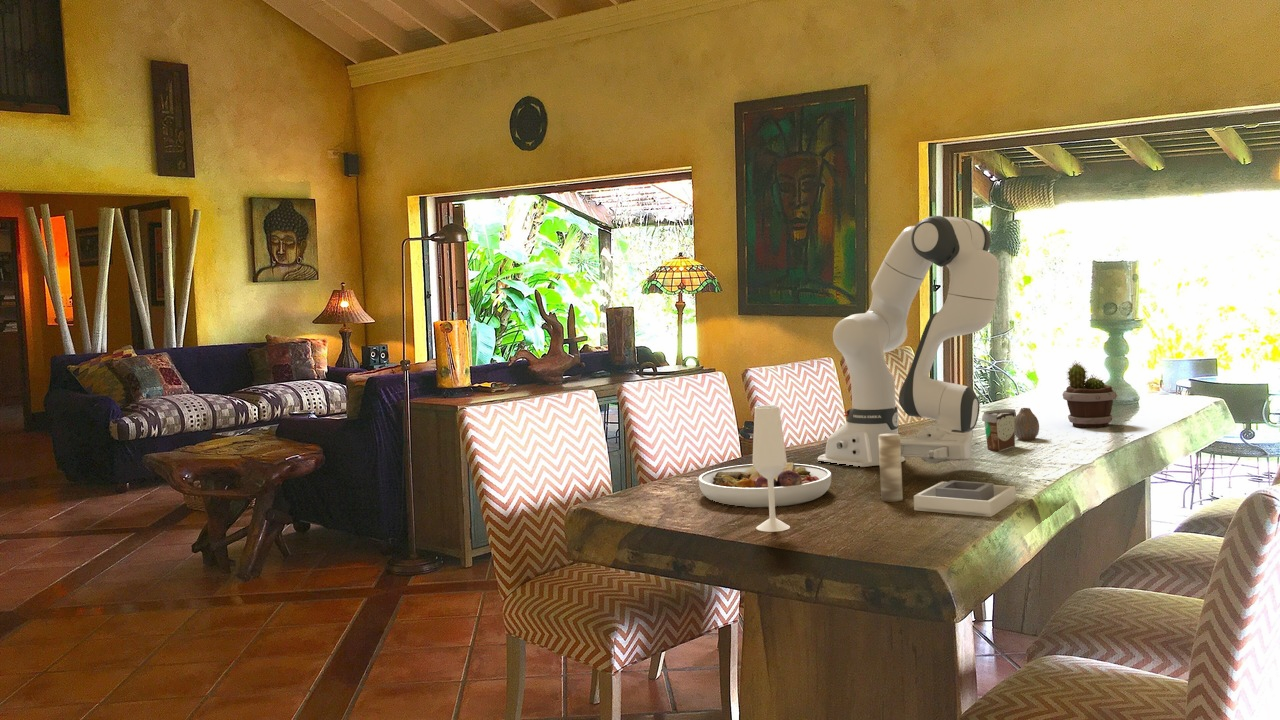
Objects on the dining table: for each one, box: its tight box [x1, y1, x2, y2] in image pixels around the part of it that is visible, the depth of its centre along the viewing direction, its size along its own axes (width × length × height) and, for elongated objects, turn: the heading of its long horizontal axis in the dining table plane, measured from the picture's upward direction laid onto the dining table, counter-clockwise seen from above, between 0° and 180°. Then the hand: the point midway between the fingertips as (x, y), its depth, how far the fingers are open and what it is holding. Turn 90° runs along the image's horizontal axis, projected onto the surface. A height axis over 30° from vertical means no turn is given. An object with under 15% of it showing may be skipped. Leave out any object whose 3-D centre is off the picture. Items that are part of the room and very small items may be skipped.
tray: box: [913, 479, 1017, 518], centre depth 205 cm, size 16×16×4 cm
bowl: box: [698, 461, 832, 508], centre depth 227 cm, size 30×30×8 cm
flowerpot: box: [1061, 361, 1118, 429], centre depth 297 cm, size 14×15×20 cm
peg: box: [878, 433, 904, 503], centre depth 214 cm, size 4×4×14 cm
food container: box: [981, 408, 1017, 453], centre depth 269 cm, size 12×6×10 cm, turn 135°
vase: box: [1015, 407, 1040, 441], centre depth 281 cm, size 7×7×9 cm
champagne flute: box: [751, 404, 791, 533], centre depth 196 cm, size 7×7×24 cm
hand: (911, 453), depth 223 cm, fingers open, 8 cm apart
